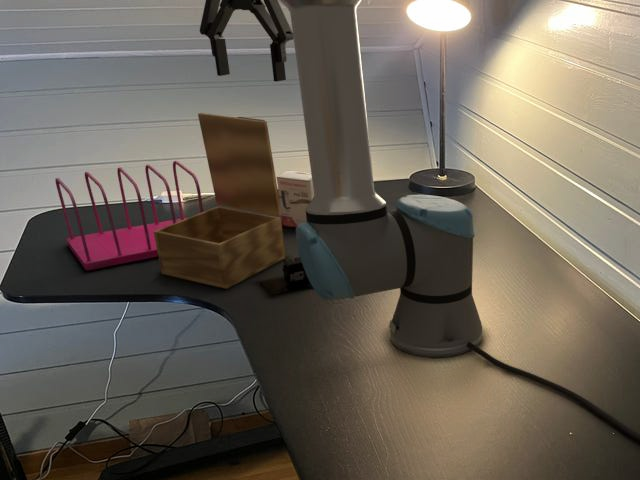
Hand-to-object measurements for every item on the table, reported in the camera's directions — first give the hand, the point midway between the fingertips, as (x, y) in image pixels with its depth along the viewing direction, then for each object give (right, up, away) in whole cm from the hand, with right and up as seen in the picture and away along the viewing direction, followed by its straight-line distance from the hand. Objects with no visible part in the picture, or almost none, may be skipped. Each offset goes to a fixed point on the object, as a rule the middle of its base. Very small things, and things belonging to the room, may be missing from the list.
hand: (251, 77), depth 142 cm
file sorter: (-28, -31, +13) cm, 44 cm away
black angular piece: (+9, -40, -2) cm, 41 cm away
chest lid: (-3, -16, +2) cm, 17 cm away
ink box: (+3, -24, +28) cm, 37 cm away
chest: (-7, -36, +5) cm, 37 cm away
